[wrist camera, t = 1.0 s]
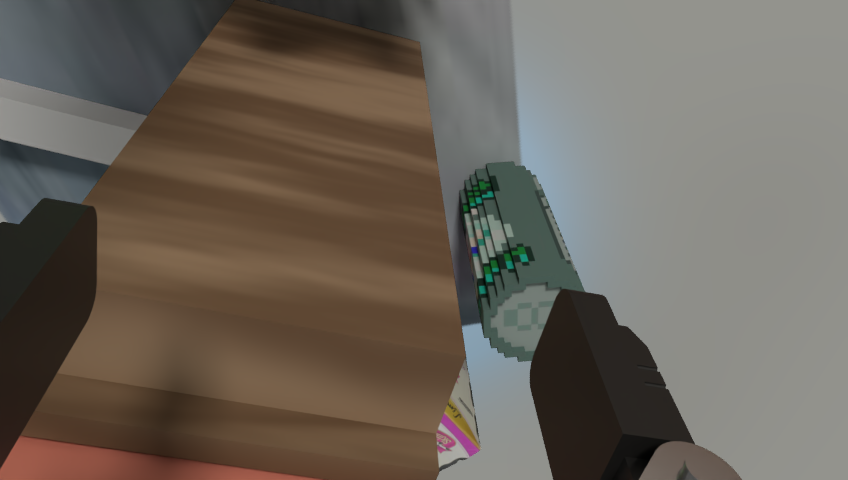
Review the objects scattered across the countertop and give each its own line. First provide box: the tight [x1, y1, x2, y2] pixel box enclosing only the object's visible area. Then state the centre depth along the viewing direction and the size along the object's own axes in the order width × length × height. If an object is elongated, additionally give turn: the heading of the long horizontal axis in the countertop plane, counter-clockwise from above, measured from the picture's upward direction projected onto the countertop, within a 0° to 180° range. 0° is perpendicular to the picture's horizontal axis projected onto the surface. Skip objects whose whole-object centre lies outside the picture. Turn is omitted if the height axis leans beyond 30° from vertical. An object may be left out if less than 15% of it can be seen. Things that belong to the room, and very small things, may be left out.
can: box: [460, 162, 585, 362], centre depth 48 cm, size 6×6×15 cm
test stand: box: [21, 0, 466, 480], centre depth 36 cm, size 12×12×34 cm
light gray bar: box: [0, 78, 147, 165], centre depth 49 cm, size 3×12×3 cm, turn 73°
